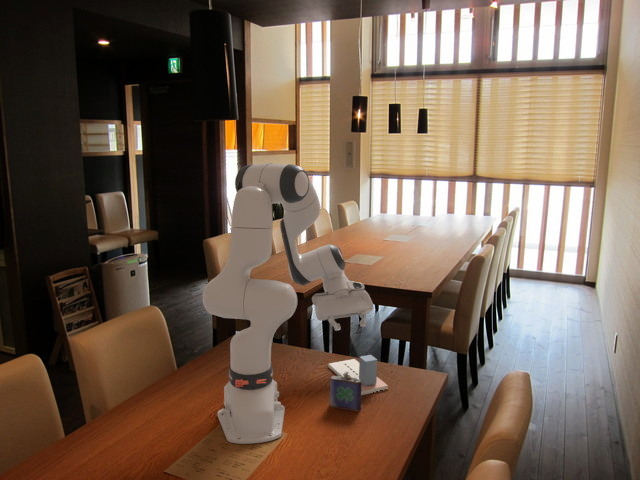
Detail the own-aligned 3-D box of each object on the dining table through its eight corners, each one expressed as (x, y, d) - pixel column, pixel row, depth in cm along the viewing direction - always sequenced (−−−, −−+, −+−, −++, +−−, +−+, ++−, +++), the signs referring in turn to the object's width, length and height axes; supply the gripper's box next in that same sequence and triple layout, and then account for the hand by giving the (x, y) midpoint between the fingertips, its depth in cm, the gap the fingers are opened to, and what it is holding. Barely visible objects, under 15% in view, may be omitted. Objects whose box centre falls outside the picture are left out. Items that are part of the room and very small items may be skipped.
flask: (328, 407, 155) (329, 372, 153) (331, 402, 157) (332, 368, 155) (360, 412, 152) (361, 377, 150) (362, 407, 155) (363, 372, 153)
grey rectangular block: (376, 383, 166) (377, 359, 164) (365, 386, 164) (365, 361, 163) (370, 378, 169) (370, 354, 168) (358, 380, 168) (359, 356, 166)
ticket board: (387, 389, 166) (388, 385, 165) (359, 395, 162) (359, 391, 161) (354, 362, 185) (354, 358, 185) (328, 366, 181) (328, 363, 181)
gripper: (313, 289, 175) (325, 327, 168) (367, 283, 183) (381, 319, 176) (307, 299, 180) (319, 336, 173) (360, 292, 188) (374, 327, 181)
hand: (351, 327), depth 175 cm, fingers open, 8 cm apart
